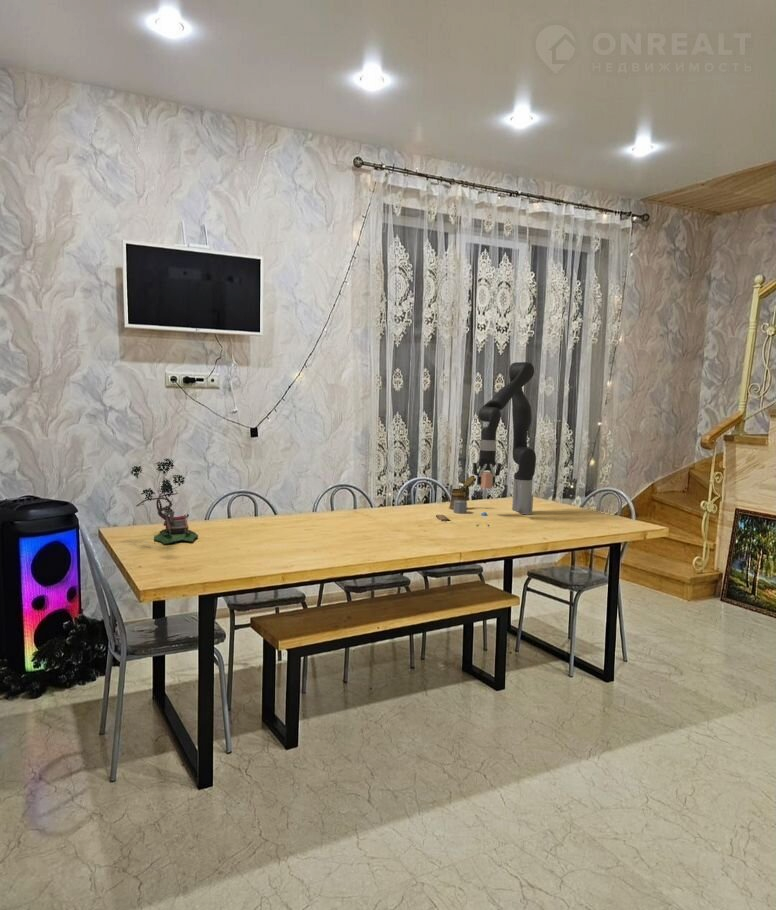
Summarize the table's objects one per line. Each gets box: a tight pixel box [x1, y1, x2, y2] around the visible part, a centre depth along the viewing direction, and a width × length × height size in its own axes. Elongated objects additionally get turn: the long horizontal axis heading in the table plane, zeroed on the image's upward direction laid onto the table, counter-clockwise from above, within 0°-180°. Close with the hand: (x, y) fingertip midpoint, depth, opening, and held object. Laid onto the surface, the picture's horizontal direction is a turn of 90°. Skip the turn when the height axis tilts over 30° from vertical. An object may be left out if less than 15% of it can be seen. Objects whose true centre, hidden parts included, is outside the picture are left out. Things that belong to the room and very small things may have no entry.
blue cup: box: [453, 500, 468, 515], centre depth 343 cm, size 6×6×7 cm
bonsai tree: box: [130, 457, 199, 546], centre depth 267 cm, size 35×24×32 cm
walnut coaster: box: [435, 514, 452, 522], centre depth 333 cm, size 10×10×1 cm
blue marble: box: [480, 511, 488, 517], centre depth 338 cm, size 3×3×3 cm
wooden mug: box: [448, 474, 475, 511], centre depth 354 cm, size 9×14×18 cm, turn 118°
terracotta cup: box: [478, 471, 494, 490], centre depth 336 cm, size 6×6×7 cm
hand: (485, 484), depth 336 cm, fingers closed on terracotta cup, 5 cm apart
